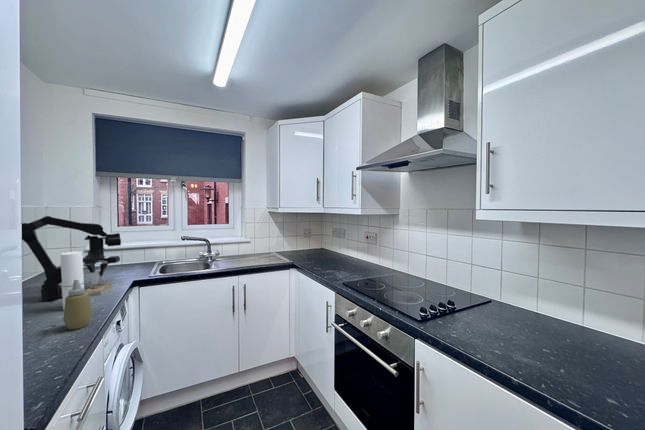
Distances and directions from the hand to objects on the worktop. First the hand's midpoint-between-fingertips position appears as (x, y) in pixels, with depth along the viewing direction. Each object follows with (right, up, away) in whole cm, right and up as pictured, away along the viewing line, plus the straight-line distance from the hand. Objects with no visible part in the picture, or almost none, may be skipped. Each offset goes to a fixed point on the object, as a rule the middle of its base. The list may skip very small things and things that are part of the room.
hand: (97, 276), depth 142 cm
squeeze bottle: (+26, -10, -40) cm, 49 cm away
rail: (0, -8, +1) cm, 8 cm away
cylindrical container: (+8, -9, -22) cm, 25 cm away
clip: (0, -3, 0) cm, 3 cm away
